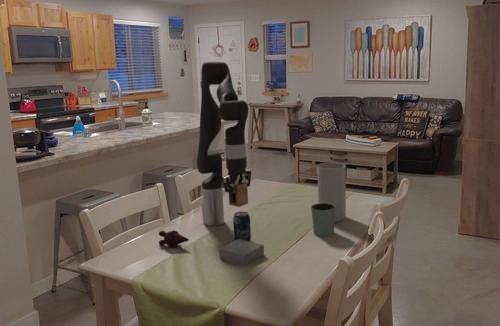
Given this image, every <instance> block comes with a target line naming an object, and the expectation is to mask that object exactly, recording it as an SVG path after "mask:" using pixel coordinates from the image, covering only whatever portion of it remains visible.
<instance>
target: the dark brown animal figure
mask: <svg viewBox="0 0 500 326" xmlns="http://www.w3.org/2000/svg"><path fill="white" fill-rule="evenodd" d="M158 235H159V236H160V237H162V238H163V239H161V240H159V241H158V244H159V245H160V246H164V245H166V246H168V247H172V248H176V247H177V246H179V245H180V244H182V243H186V242H189V241H190V240H189V239H190V238H189V239H188V238H187V237H185V236H183V235H182V234H179V231H177V230H171V231H168V232H166V231H165V230H163V231H162V230H161V231H160V230H159V233H158Z"/></svg>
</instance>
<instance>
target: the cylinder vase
mask: <svg viewBox="0 0 500 326" xmlns="http://www.w3.org/2000/svg"><path fill="white" fill-rule="evenodd" d="M346 166H347V165H346V164H345V163H341V162H324V163H319V164H318V165H317V204H318V203H330V204H333V205H335V206H336V209H335V221H334V222H335V223H338V222H343V221H344V220H345V219H346V217H347V216H346V215H347V213H346V212H347V209H346V207H347V205H346V203H347V202H346V201H347V200H346V199H347V198H346V197H347V196H346V195H347V193H346V190H347V188H346V187H347V185H346V183H347V182H346V181H347V180H346V178H347V177H346V176H347V175H346V174H347V170H346V168H347V167H346Z"/></svg>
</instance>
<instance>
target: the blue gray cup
mask: <svg viewBox="0 0 500 326" xmlns="http://www.w3.org/2000/svg"><path fill="white" fill-rule="evenodd" d="M310 209H311V218H312V227H313V234H314V236H317V237H319V238H326V237H327V238H329V237H331V236H334V234H335V223H336V222H334V221H335V209H336V206H335V205H333V204H330V203H318V202H317V203H313V204H312V205H311V207H310Z"/></svg>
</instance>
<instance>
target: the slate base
mask: <svg viewBox="0 0 500 326" xmlns="http://www.w3.org/2000/svg"><path fill="white" fill-rule="evenodd" d="M218 251H219V259H221V260H225V261H227V262H229V263H230V262H231V263H233V264H237V265H240V266H243V267H244V266H246V265H249V264H250V263H252V262H254V261H256V260H257V259H259V258H261V257H262V256H265V246H264V244H262V243H258V242H254V241H251V240H250V241H247V240H243V239H238V240H236V241H235V240H234V241H232V242H230V243H228V244H225V245H223V246H221V247H219V249H218Z"/></svg>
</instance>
